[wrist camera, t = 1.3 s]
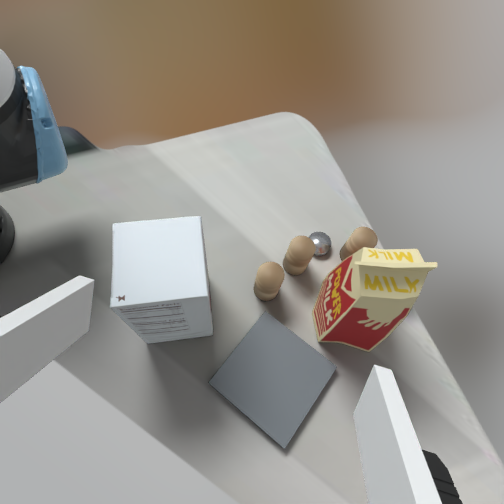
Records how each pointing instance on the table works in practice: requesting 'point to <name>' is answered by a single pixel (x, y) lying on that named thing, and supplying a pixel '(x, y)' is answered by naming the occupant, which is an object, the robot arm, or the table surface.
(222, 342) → the table surface
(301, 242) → the posts
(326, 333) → the milk carton
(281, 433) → the mat
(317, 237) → the silver metal dome
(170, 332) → the supplement box
